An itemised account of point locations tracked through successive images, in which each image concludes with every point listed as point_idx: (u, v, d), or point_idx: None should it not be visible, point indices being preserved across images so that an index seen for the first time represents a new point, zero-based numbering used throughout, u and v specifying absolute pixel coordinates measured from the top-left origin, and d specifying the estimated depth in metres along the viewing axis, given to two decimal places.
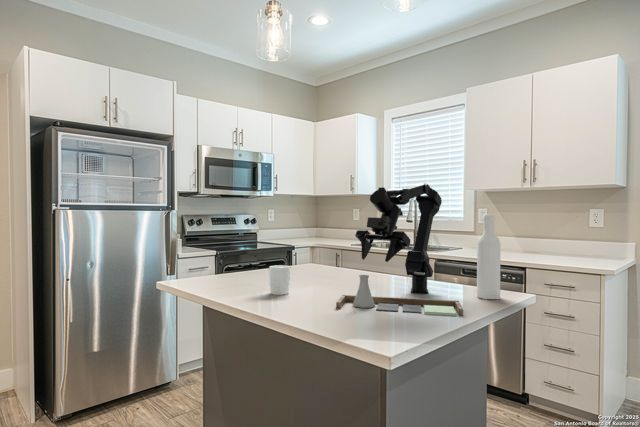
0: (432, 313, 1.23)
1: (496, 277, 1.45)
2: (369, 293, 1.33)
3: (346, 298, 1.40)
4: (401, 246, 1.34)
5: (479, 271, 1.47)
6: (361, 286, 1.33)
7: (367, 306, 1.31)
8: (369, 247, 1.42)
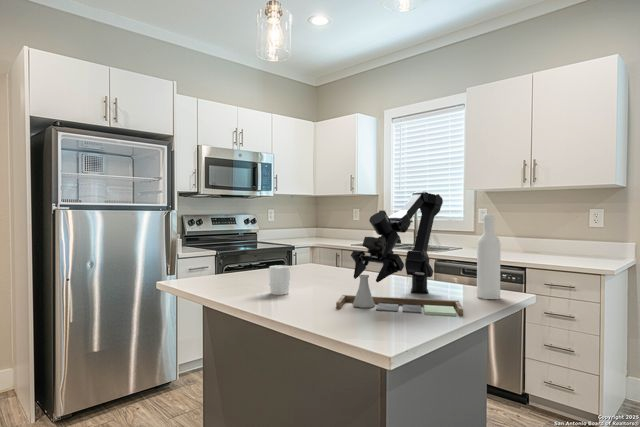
0: (432, 313, 1.23)
1: (496, 277, 1.45)
2: (369, 293, 1.33)
3: (346, 298, 1.40)
4: (394, 269, 1.33)
5: (479, 271, 1.47)
6: (361, 286, 1.33)
7: (367, 306, 1.31)
8: (363, 268, 1.42)
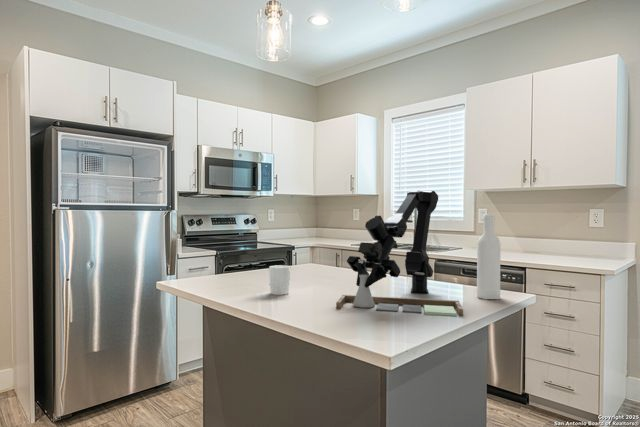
0: (432, 313, 1.23)
1: (496, 277, 1.45)
2: (369, 293, 1.33)
3: (346, 298, 1.40)
4: (382, 274, 1.34)
5: (479, 271, 1.47)
6: (361, 286, 1.33)
7: (367, 306, 1.31)
8: None
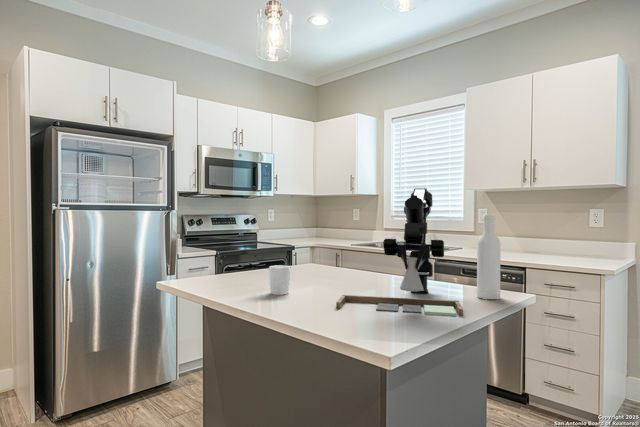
0: (432, 313, 1.23)
1: (496, 277, 1.45)
2: (418, 276, 1.27)
3: (346, 298, 1.40)
4: (427, 255, 1.30)
5: (479, 271, 1.47)
6: (411, 269, 1.26)
7: (420, 289, 1.25)
8: None
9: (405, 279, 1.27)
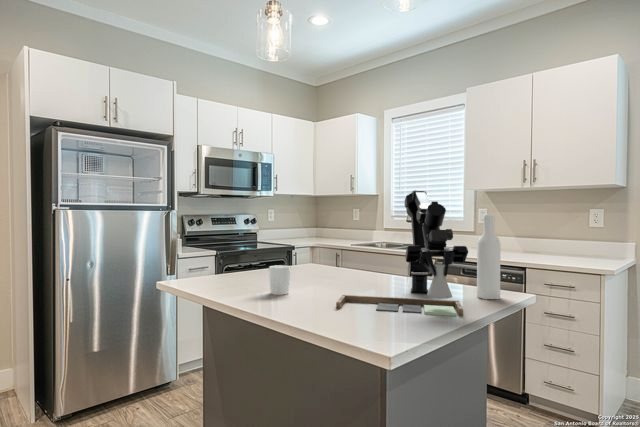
0: (432, 313, 1.23)
1: (496, 277, 1.45)
2: None
3: (346, 298, 1.40)
4: (450, 261, 1.31)
5: (479, 271, 1.47)
6: (441, 276, 1.26)
7: (450, 296, 1.25)
8: None
9: (434, 286, 1.26)
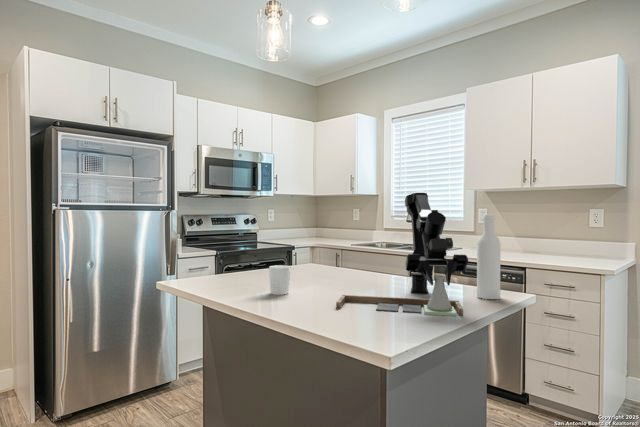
0: (432, 313, 1.23)
1: (496, 277, 1.45)
2: None
3: (346, 298, 1.40)
4: (453, 270, 1.31)
5: (479, 271, 1.47)
6: (440, 288, 1.26)
7: (450, 308, 1.25)
8: None
9: (434, 298, 1.26)
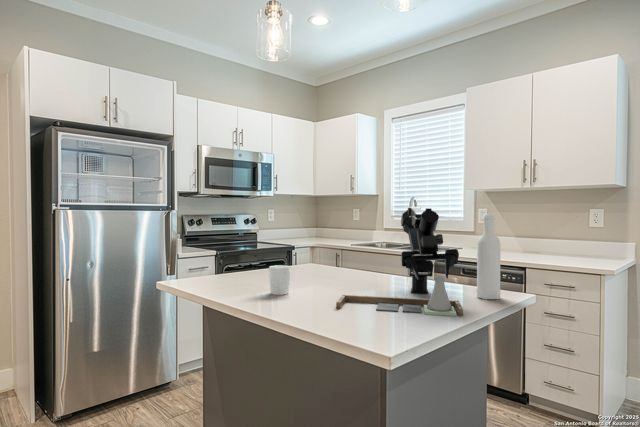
0: (432, 313, 1.23)
1: (496, 277, 1.45)
2: None
3: (346, 298, 1.40)
4: (452, 263, 1.40)
5: (479, 271, 1.47)
6: (440, 288, 1.26)
7: (450, 308, 1.25)
8: None
9: (434, 298, 1.26)
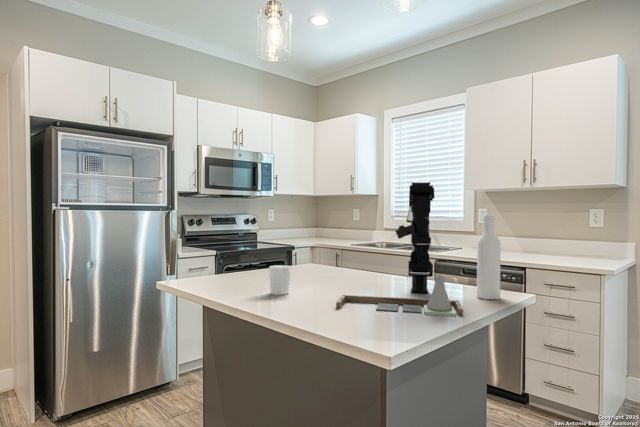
0: (432, 313, 1.23)
1: (496, 277, 1.45)
2: None
3: (346, 298, 1.40)
4: (425, 246, 1.35)
5: (479, 271, 1.47)
6: (440, 288, 1.26)
7: (450, 308, 1.25)
8: None
9: (434, 298, 1.26)
